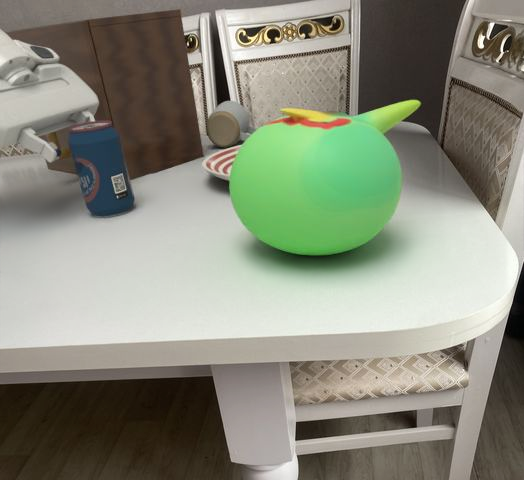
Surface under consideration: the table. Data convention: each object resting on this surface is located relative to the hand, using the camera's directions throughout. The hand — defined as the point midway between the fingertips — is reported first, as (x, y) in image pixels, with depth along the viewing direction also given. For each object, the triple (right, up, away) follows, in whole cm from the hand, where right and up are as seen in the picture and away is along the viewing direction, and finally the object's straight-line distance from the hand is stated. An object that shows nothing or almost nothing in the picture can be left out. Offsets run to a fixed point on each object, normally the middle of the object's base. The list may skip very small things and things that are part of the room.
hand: (79, 148), depth 73 cm
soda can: (+3, -8, +4) cm, 10 cm away
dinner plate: (+30, +1, +12) cm, 32 cm away
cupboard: (-1, +9, +31) cm, 32 cm away
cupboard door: (-10, +4, +24) cm, 26 cm away
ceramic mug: (+20, +14, +35) cm, 43 cm away
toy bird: (+32, -17, -15) cm, 39 cm away
